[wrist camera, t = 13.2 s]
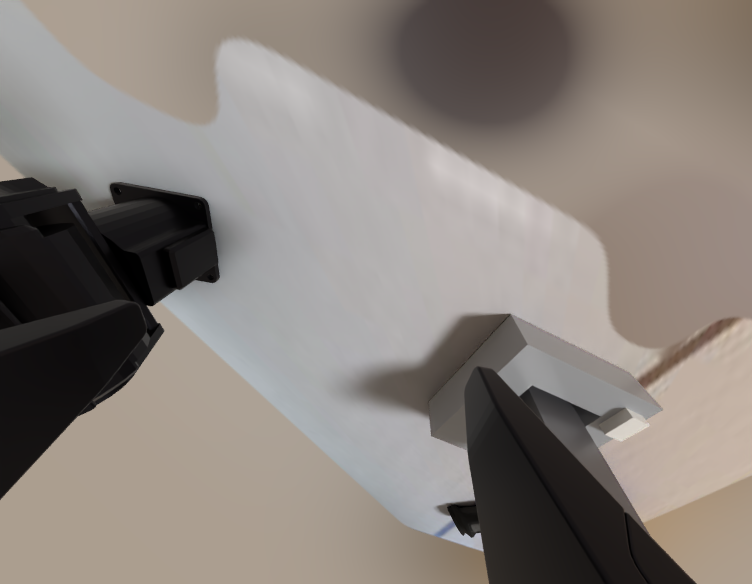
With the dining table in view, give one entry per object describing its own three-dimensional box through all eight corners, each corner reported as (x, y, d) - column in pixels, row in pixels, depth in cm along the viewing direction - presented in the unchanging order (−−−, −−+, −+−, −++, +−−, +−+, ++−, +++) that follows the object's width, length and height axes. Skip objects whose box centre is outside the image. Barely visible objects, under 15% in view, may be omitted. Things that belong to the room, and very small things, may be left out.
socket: (428, 402, 27) (431, 445, 24) (510, 314, 21) (532, 352, 18) (528, 443, 29) (546, 489, 25) (630, 373, 23) (672, 419, 19)
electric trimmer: (577, 499, 34) (592, 531, 32) (455, 515, 39) (459, 544, 36) (571, 483, 33) (587, 515, 30) (445, 502, 37) (448, 531, 35)
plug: (485, 394, 26) (544, 593, 15) (517, 364, 24) (614, 571, 13) (524, 410, 27) (609, 614, 16) (558, 382, 24) (686, 596, 13)
